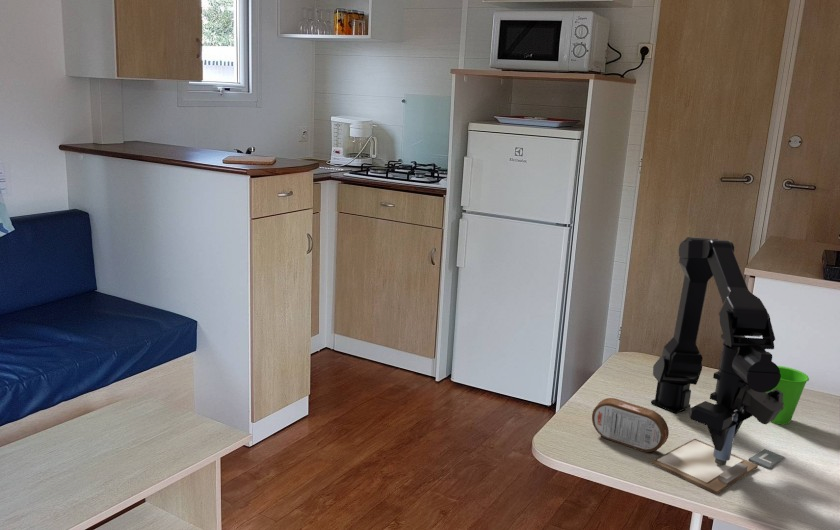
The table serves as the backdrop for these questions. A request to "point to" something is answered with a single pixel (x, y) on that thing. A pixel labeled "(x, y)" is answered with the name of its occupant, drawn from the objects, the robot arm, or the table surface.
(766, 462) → the letter tile
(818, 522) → the table surface
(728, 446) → the cylinder
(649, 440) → the tin
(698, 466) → the clipboard
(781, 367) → the cup
